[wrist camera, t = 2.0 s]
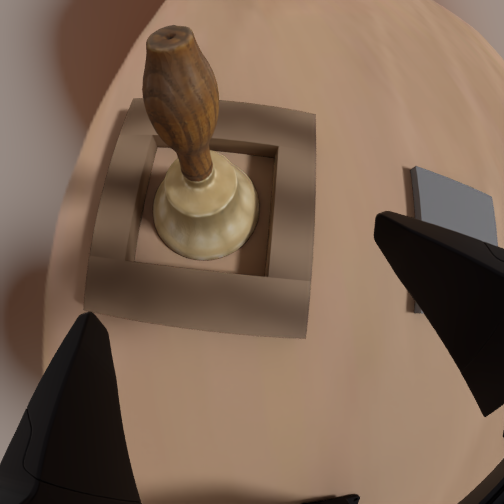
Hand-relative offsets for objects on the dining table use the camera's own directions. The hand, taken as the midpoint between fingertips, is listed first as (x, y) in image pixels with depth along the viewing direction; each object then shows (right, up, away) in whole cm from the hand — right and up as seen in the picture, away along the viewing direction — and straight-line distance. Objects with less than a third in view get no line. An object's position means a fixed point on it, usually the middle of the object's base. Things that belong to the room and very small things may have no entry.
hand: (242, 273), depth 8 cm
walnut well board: (-3, +4, +13) cm, 14 cm away
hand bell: (-3, +4, +14) cm, 15 cm away
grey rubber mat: (+23, +1, +15) cm, 27 cm away
